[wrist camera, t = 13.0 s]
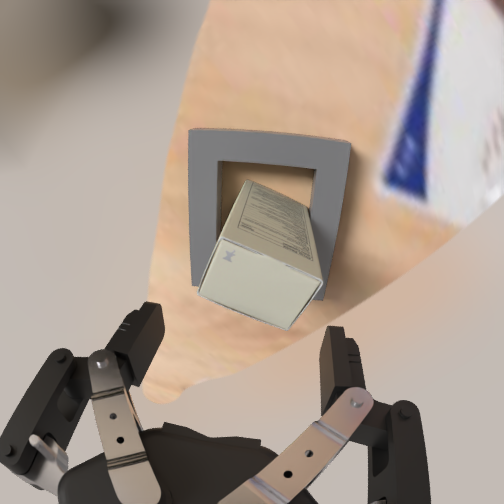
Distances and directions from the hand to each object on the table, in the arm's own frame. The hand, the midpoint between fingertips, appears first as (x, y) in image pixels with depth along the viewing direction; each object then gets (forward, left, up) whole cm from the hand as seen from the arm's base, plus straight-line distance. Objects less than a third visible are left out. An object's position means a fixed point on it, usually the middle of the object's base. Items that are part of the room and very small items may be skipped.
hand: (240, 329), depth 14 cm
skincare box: (0, 0, -16) cm, 16 cm away
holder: (0, 0, -15) cm, 15 cm away
